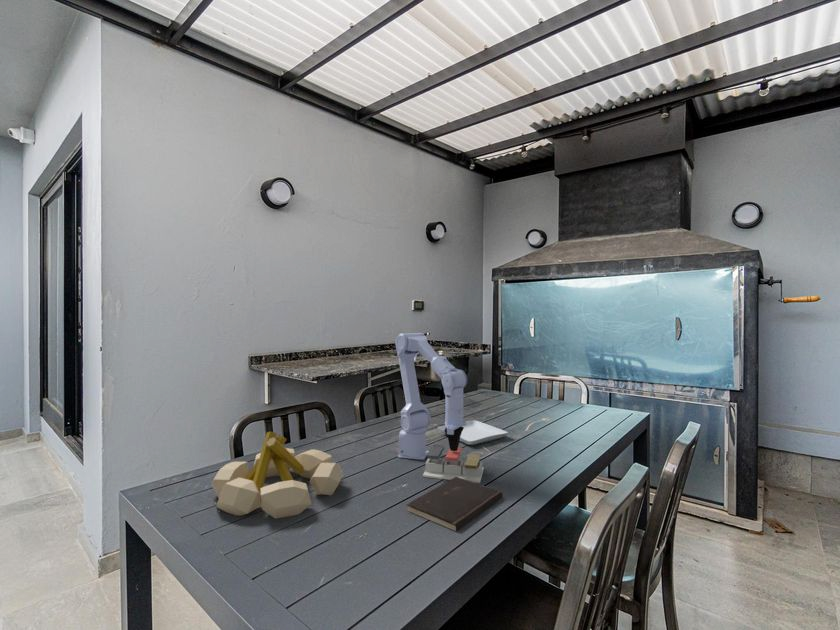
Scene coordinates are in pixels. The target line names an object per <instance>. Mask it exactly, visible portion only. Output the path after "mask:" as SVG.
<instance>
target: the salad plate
mask: <svg viewBox="0 0 840 630" xmlns="http://www.w3.org/2000/svg"><path fill="white" fill-rule="evenodd" d="M465 422H467V425H466V426H461V427H464V429H463V431H462V433H461V436H460V440H459V442H461V443H464V444H466V445H469V446H471V445H472V446H473V445H478V444H482V443H487V442H490V441H494V440H498V439H501V438H503V437H505V436H507V435H508V433H509V432H508V431H506V430H504V429H501V428H498V427H495V426H493V425H489V424H487V423H484V422H481V421H479V420H475V419H473V420H467V421H465ZM445 428H446V426H445V425H442V426H438V427H437V429H438V430H439V432H441V433H443V434H445V435H446V433H445Z"/></svg>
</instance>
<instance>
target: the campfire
mask: <svg viewBox="0 0 840 630" xmlns="http://www.w3.org/2000/svg"><path fill="white" fill-rule="evenodd" d="M286 441H287V438H286V437H284V436H283V435H281V434H279V435H278V436H277V433H276V432H274V431H267V432H266V435H265V437H264V441H263V443H262V449H261V452H259V453H257V454H256V455H255V459H254V462H253V466H252V468H251V469H250V468H249V461H231V462H229V463H226V464H225V465H224V466H222V467H220V468H219V470H218V472H217V473H216V475H215V476H214V478H213V479H212V481H211V483H210V485H211V486H212V489H213V491H214V492H215V494H216V496H217V498H218V500H217V503H216V505H215V507H217V508H218V509H220V510H222V511H223V512H225V513H228V514H230V515H234V516H237V517H238V516H239V517H240V516H244V515H246V514H247V515H248V514H249V513H252V511H255V510H256V509H258V508H259V507H261V509H262V511H264V512H265V513H266V514H268V515H269V516H271V517H272V518H274V519H280V518H286V517H292V516H296V515H297V516H298V515H300V514H302V512H304V511H305V510H306V509H308V508H309V506H311V505H313V503H312V502H313V501H312V500H311V497H310V496H311V495H310V492H309V490H308V489H309V488H308V485H307V483H306V482H302V481H297V480H294V478H293V476H292V474H291V472H290V469H292V470H293V471H294V473H296V474H297V475H299V476H300V477H302V478H305V479H309V481H308V482H309V484H310V486H311V487H312V489H313V490H314V493H315V495H317V496H318V495H319V496H332V495H334V492H335V491H336V490H337V488H338V486H339V484H340V483H341V481H342V480H343V477H344V475H345V473H344V472H343V469H342V467H341V465H340V463H338V462H331V461H332V458H333V455H331V454H329V453H326V452H325V451H322V450H318V449H309V450H306V451H304V452H302V453H299V454H297V455H295V450H294V448H289V447H288V448H287V447H284V444H285V443H286ZM277 476H279V477H280V479H281V481H277V482H275V483H272V484H268V485H265V486H264V484H265V482H266V481H265V480H266V478H273V477H277Z"/></svg>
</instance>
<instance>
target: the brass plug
mask: <svg viewBox="0 0 840 630" xmlns="http://www.w3.org/2000/svg"><path fill="white" fill-rule="evenodd" d="M480 458H481V454H474V453H468V456H467V458H466V463H465V468H469V469H477V466H478V462H480Z"/></svg>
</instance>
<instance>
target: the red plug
mask: <svg viewBox="0 0 840 630" xmlns="http://www.w3.org/2000/svg"><path fill="white" fill-rule="evenodd" d="M462 451H463V448H462V447H459V446H458V450H457V451H451V450H450V449H449V450H448V452H447V454H446V456H445V458H446V460H448V461H450V465H458V460H459V458H460V455H461V453H462Z"/></svg>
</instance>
